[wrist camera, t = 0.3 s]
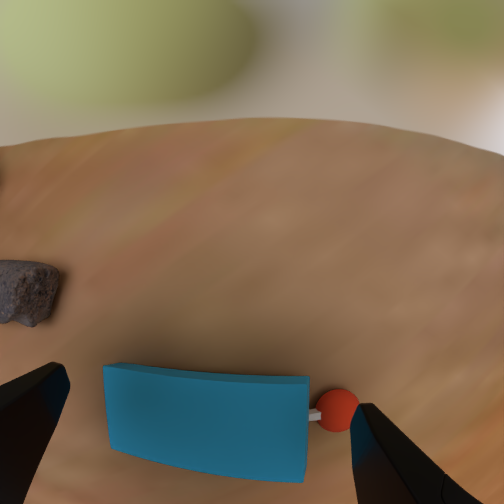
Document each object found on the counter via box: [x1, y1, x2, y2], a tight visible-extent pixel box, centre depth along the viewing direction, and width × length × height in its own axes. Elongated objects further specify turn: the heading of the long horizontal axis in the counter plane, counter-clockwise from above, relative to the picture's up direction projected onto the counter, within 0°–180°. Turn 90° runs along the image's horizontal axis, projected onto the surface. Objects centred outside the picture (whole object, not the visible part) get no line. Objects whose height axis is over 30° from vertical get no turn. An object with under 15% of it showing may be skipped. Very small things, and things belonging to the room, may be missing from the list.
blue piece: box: [103, 363, 359, 483], centre depth 20 cm, size 7×7×18 cm
